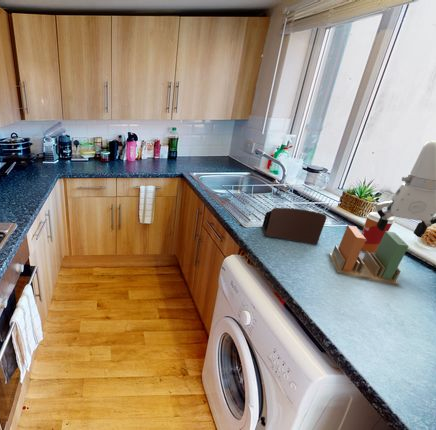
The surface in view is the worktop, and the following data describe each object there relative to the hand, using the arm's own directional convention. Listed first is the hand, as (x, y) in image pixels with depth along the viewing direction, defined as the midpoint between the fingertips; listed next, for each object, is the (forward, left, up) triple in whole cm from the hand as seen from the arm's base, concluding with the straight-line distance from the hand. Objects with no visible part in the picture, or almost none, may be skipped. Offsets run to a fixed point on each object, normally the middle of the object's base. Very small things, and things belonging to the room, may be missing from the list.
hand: (398, 232), depth 94 cm
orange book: (+11, 0, -15) cm, 19 cm away
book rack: (+5, 0, -16) cm, 17 cm away
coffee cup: (-2, -18, -16) cm, 24 cm away
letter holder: (+26, -18, -16) cm, 36 cm away
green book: (0, 0, -15) cm, 15 cm away
